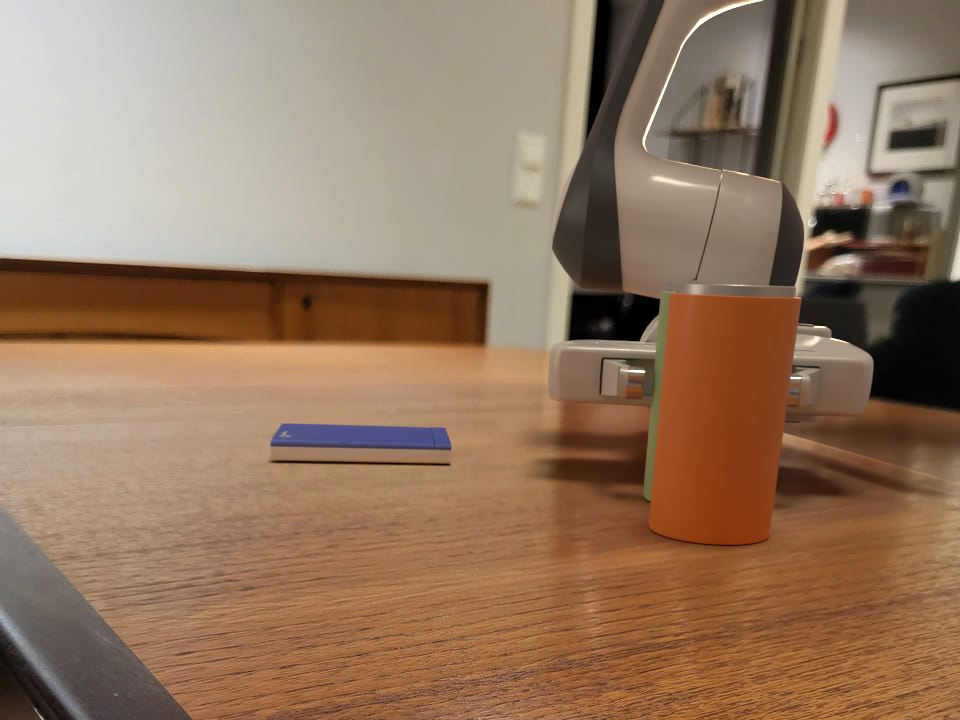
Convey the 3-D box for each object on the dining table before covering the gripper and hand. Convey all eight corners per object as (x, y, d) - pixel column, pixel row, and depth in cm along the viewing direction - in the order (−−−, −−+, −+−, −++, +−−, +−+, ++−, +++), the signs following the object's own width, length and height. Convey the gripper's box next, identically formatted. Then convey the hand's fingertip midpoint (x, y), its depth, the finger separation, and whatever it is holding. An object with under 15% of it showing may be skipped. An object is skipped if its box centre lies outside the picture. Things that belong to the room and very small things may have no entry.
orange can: (732, 514, 58) (760, 285, 53) (792, 542, 52) (829, 287, 48) (630, 517, 56) (650, 281, 52) (679, 547, 50) (707, 283, 46)
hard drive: (269, 439, 68) (451, 443, 69) (281, 421, 76) (445, 425, 77) (270, 462, 68) (451, 465, 70) (282, 442, 76) (444, 446, 77)
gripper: (555, 316, 71) (538, 324, 58) (851, 327, 69) (902, 338, 56) (550, 406, 73) (532, 433, 61) (837, 420, 71) (883, 451, 58)
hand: (712, 388), depth 58 cm, fingers open, 8 cm apart
